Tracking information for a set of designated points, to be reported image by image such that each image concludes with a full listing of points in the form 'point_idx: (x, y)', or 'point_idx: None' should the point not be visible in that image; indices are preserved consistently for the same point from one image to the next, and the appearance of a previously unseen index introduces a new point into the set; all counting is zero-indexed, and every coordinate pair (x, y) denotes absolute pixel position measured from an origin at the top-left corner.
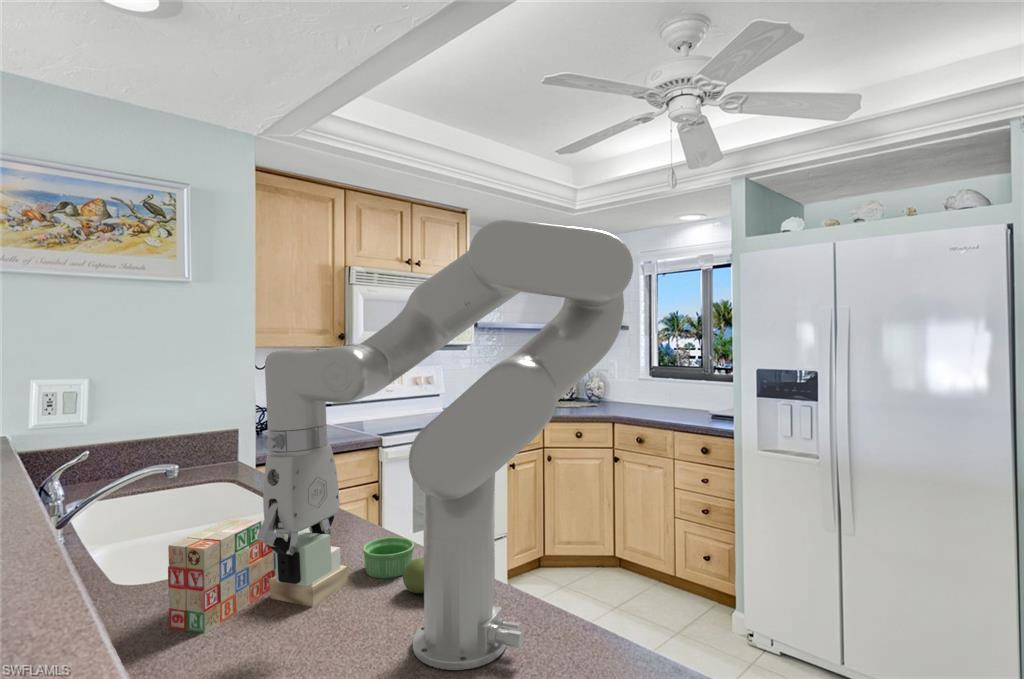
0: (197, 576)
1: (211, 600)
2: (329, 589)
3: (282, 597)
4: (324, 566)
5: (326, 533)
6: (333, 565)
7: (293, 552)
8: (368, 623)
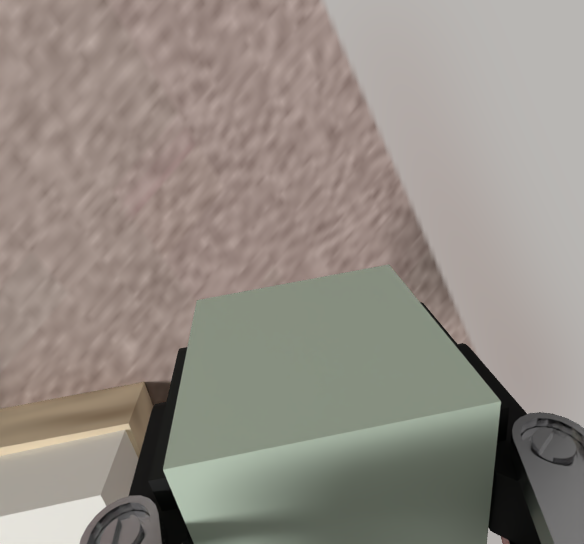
0: None
1: None
2: (64, 409)
3: None
4: (255, 312)
5: (141, 522)
6: (2, 474)
7: (526, 426)
8: (97, 172)
